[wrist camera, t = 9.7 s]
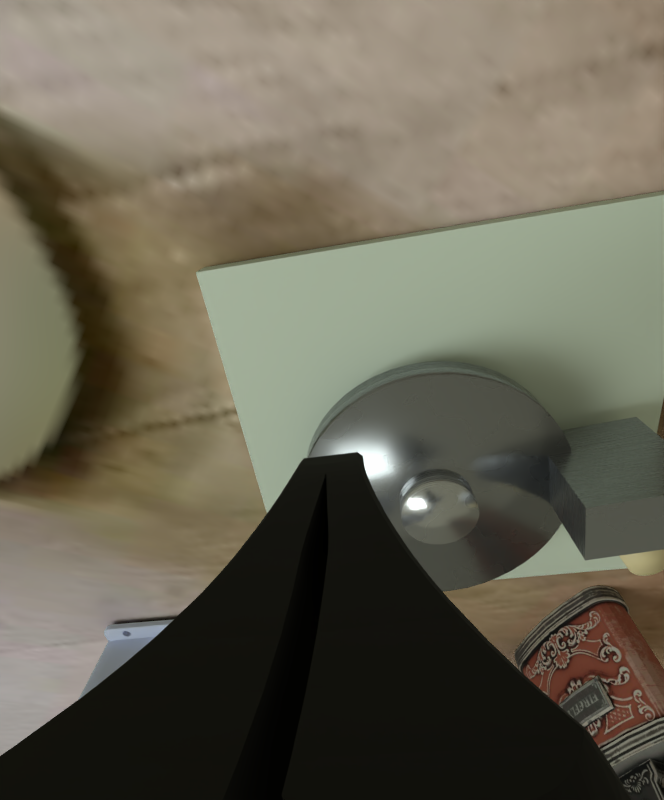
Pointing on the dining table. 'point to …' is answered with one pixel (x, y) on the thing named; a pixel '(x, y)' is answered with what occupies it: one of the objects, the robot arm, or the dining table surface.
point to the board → (453, 329)
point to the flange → (494, 471)
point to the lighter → (604, 683)
